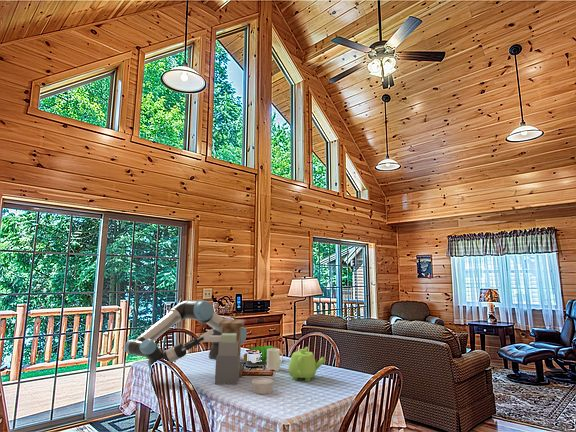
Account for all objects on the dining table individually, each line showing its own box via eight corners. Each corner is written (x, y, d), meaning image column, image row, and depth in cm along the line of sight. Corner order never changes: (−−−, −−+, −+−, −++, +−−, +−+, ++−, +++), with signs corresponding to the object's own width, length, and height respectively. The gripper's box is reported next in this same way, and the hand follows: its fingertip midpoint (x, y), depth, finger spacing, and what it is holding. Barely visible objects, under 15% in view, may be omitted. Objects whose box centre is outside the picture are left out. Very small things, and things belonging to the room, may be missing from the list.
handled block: (198, 342, 206) (199, 335, 207) (201, 340, 214) (201, 332, 214) (235, 343, 207) (235, 335, 207) (236, 340, 215) (236, 333, 215)
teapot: (323, 385, 204) (324, 354, 206) (285, 382, 208) (285, 352, 211) (328, 373, 228) (328, 346, 230) (293, 371, 232) (293, 344, 235)
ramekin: (261, 387, 198) (262, 376, 199) (278, 391, 191) (278, 380, 192) (246, 392, 189) (247, 380, 190) (263, 396, 182) (263, 385, 183)
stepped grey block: (214, 384, 201) (216, 343, 204) (217, 378, 213) (219, 339, 216) (237, 384, 202) (238, 343, 205) (239, 378, 214) (240, 339, 217)
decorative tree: (243, 344, 249) (276, 338, 270) (239, 360, 251) (272, 352, 272) (253, 354, 241) (286, 346, 262) (248, 370, 243) (282, 361, 264)
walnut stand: (216, 377, 215) (218, 323, 220) (220, 368, 235) (222, 319, 239) (241, 377, 216) (242, 323, 220) (243, 368, 235) (245, 319, 240)
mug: (279, 366, 243) (279, 347, 245) (286, 369, 236) (287, 349, 238) (263, 368, 237) (264, 348, 238) (270, 371, 230) (271, 351, 231)
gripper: (184, 353, 220) (217, 335, 223) (174, 363, 196) (210, 342, 198) (178, 342, 221) (211, 324, 224) (167, 350, 196) (204, 329, 199)
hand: (211, 332), depth 211 cm, fingers open, 13 cm apart
